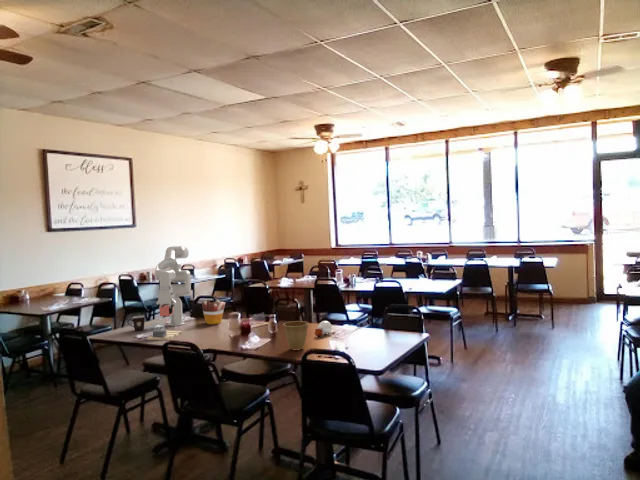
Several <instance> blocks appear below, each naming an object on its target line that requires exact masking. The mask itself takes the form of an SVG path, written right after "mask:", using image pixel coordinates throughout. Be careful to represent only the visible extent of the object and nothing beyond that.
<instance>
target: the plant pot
mask: <svg viewBox="0 0 640 480" xmlns="http://www.w3.org/2000/svg"><path fill="white" fill-rule="evenodd" d="M308 325H309V322H307V321H305V320H304V321H302V320H294V321H293V320H292V321H288V322H287V321H286V322H285V323H283V329H284V334H285V339H286V341H287V344H288V346H289V348H290V350H291V349H301V348H303V349H304V348H305V344H306V343H305V342H306V341H307V340H306V339H307V334H308V328H309V326H308Z"/></svg>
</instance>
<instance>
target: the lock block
mask: <svg viewBox="0 0 640 480" xmlns="http://www.w3.org/2000/svg"><path fill="white" fill-rule="evenodd" d="M169 308H170V307H169V305H163V306H162V307H159V306H158V309H159V317H170V315H172V314H173V312H172V314H169ZM172 309H173V308H172Z"/></svg>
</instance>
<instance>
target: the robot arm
mask: <svg viewBox="0 0 640 480" xmlns="http://www.w3.org/2000/svg"><path fill="white" fill-rule="evenodd" d="M188 257H189V249H188V247H186V246H182V245H180V246H178V245H175V246H173V245H172V246H169V247H167V248H166V249H165V254H164V259H163V260H161V261H160V262H158V263H157V265H156V266H155V269H154V278H155V280H157V281H159V290H158V297H157V301H156V302H155V304H156V305H157V306H158V308H159V307H162V306H165V305H167V306H169V307H170V308H169V314H172V312H173V314H172V315H169V322H168V324H167V326H171V327H178V326H183V325H185V324H186V323H185V321H184V320H185V319H186V317H183V302H182V300H181V298H180V297H188V296H190V295H191V293H192V287H191V286H192V275H191V272H190V270H188V269H182V264H181V262H180V261H179V260H178V259H187V258H188ZM172 308H173V309H172Z"/></svg>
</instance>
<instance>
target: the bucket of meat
mask: <svg viewBox="0 0 640 480" xmlns="http://www.w3.org/2000/svg"><path fill="white" fill-rule="evenodd" d="M201 304H202V306H201V307H202V308H201V309H202V312H203V313H202V314H203V316H204V321H205V323H206V324H207V325H219V324H221V323H222V320H223V317H224V310H225V306H226V302H225V301H220V300H219V299H217V298H216V300H215V301H213V302H210V300H209V299H207V300H204V301H201Z"/></svg>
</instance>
